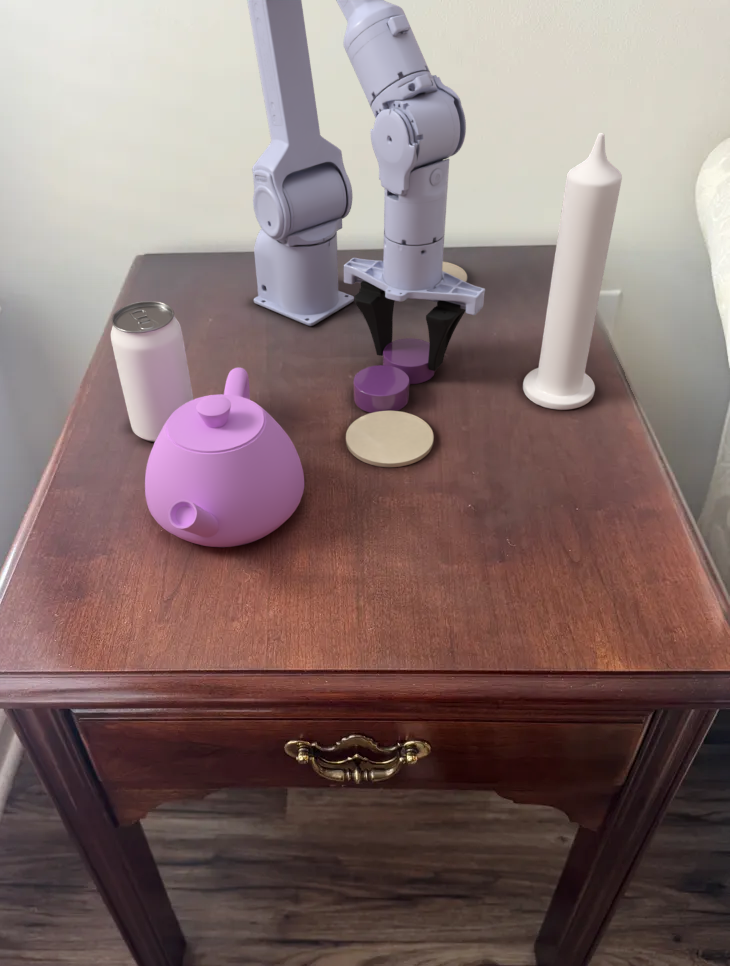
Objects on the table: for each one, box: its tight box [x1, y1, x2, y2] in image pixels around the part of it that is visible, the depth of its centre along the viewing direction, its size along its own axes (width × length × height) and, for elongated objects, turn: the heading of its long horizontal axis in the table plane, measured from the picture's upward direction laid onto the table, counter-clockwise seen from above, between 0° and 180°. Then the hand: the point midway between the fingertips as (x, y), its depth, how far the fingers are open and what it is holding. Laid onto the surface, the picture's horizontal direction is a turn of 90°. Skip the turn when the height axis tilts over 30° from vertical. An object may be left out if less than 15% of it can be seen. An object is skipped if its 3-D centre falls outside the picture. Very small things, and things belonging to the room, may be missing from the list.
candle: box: [522, 132, 623, 411], centre depth 78 cm, size 7×7×25 cm
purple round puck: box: [382, 337, 436, 385], centre depth 90 cm, size 6×6×2 cm
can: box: [110, 300, 194, 443], centre depth 81 cm, size 6×6×12 cm
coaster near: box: [345, 410, 435, 468], centre depth 82 cm, size 8×8×1 cm
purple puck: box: [353, 364, 410, 414], centre depth 86 cm, size 6×6×2 cm
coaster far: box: [442, 261, 468, 283], centre depth 105 cm, size 8×8×1 cm
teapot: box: [144, 367, 305, 548], centre depth 72 cm, size 14×20×11 cm
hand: (409, 358), depth 90 cm, fingers closed on purple round puck, 5 cm apart
